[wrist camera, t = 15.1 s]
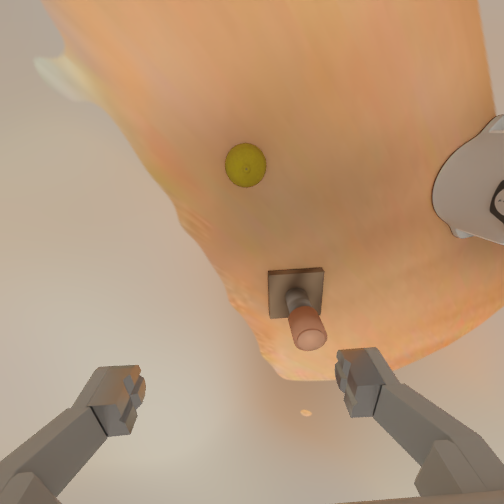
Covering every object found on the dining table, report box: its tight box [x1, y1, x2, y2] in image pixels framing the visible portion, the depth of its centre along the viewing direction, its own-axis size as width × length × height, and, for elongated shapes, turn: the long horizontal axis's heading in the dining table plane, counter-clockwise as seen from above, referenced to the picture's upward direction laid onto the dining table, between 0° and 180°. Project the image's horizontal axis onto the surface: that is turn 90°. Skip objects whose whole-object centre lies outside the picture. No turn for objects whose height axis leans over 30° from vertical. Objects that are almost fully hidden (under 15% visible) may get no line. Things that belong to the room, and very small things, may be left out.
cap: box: [288, 306, 327, 351], centre depth 37 cm, size 5×5×5 cm
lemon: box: [225, 143, 266, 187], centre depth 32 cm, size 6×6×8 cm
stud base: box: [268, 268, 324, 319], centre depth 43 cm, size 10×10×8 cm
